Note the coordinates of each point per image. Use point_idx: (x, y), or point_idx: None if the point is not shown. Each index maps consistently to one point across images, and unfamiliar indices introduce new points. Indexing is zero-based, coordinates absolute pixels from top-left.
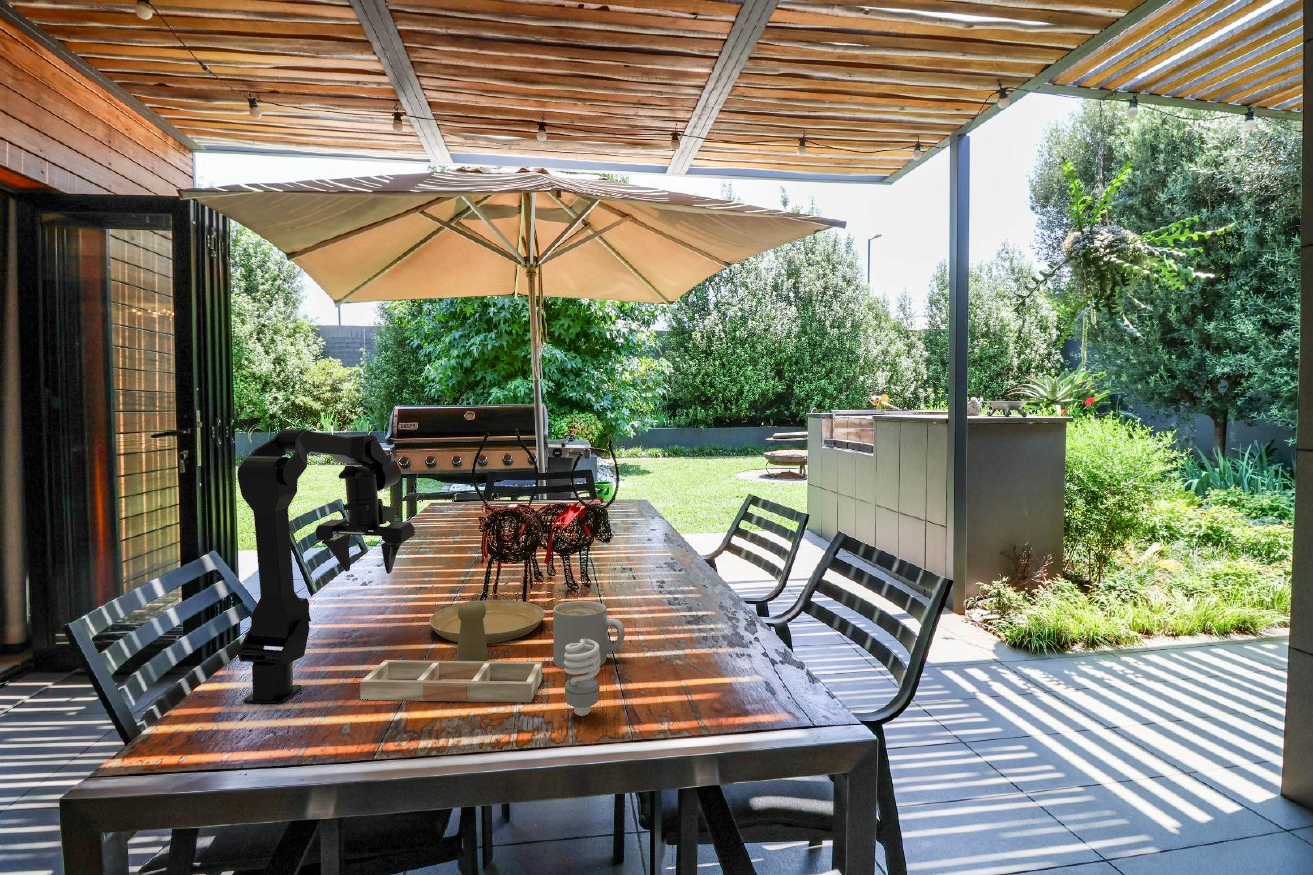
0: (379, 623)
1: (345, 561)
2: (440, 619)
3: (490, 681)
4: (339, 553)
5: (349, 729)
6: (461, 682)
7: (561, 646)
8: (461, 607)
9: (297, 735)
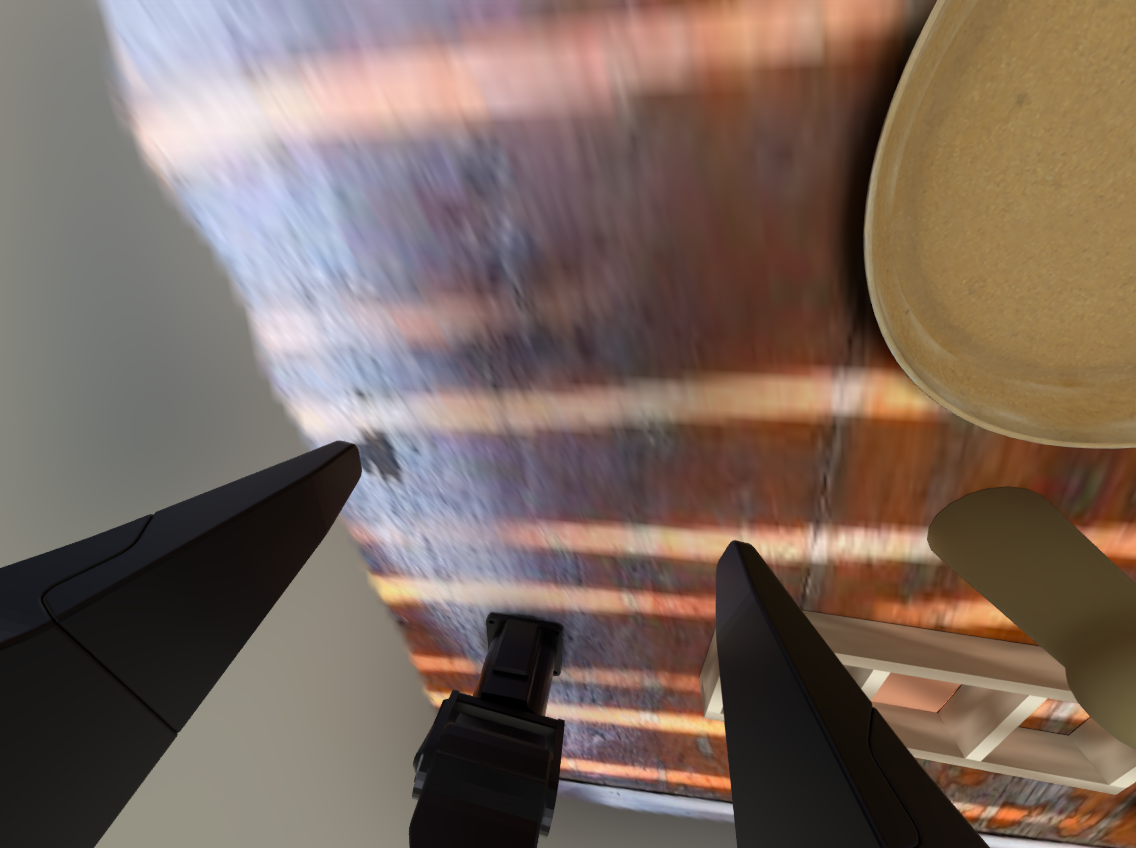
0: (544, 40)
1: (296, 546)
2: (920, 65)
3: (1013, 768)
4: (213, 678)
5: (710, 748)
6: (938, 759)
7: None
8: (1129, 743)
9: (637, 746)
